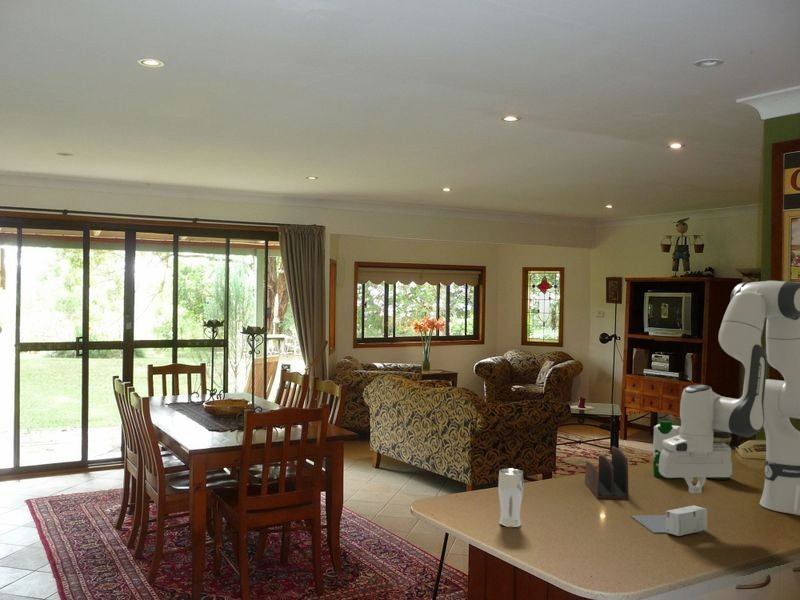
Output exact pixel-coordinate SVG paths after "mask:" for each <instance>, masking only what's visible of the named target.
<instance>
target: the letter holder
mask: <svg viewBox="0 0 800 600" xmlns="http://www.w3.org/2000/svg"><path fill="white" fill-rule="evenodd" d="M628 459H629V458H628V457H627V456H626V455H625V453H624V452H623V451H622V450H621V449H620V448H619V447H616V446H614V445H612V446H611V461H610V460H609V459H608V458H607V456H605V455H603V454H601V453H600V454H599V455H598V469H597V468H596V466H595V465H594V464H593V463H592V462H590V461H588V460H587V461H585V469H584V471H585V473H584V474H585V475H584V484H585V485H586V486H587V488H588V489H589V490H590V491H591V492H592V494H593V496H594V497H595V498H597V499H598V500H618V501H620V500H623V501H624V500H627V501H628V500H629V499H630V498H629V495H630V494H629V467H628V466H629V460H628Z"/></svg>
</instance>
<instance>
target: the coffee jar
mask: <svg viewBox="0 0 800 600" xmlns="http://www.w3.org/2000/svg"><path fill="white" fill-rule="evenodd" d="M712 430H713V443H718V444H721V443H725V444H727V445H728V446H730V443H731V441H732V433H730V432H725V431H720V430H717V429H712ZM730 478H731V476H730V477H706V479H712V480H719V481H727V480H729V479H730Z"/></svg>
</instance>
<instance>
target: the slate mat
mask: <svg viewBox="0 0 800 600" xmlns="http://www.w3.org/2000/svg"><path fill="white" fill-rule="evenodd" d="M630 517H631V518H632V519H633V520H634V521H635V522H637V523H639V524H640V525H641V526H643V527H644V528H645V529H647V530H648V531H649V532H651V533H652V534H668V533H667V532H666V514H651V515H650V514H649V515H640V514H639V515H630ZM706 532H707V531H706V530H702V531H698V532H694V533H706ZM694 533H693V534H694Z"/></svg>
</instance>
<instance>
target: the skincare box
mask: <svg viewBox="0 0 800 600" xmlns="http://www.w3.org/2000/svg"><path fill="white" fill-rule="evenodd" d="M707 510H708V509H707V508H705V507H701V506H698V505H695V504H693V505H689V506H683V507H679V508H674V509H669V510H666V511H665V515H666V532H667V533H666V534H671V535H674V536H677V537H680V536H684V535H688V534H689V535H690V534H694V532H698V531H702V530H705V531H706V530H707V525H708V511H707ZM698 533H699V532H698Z"/></svg>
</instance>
